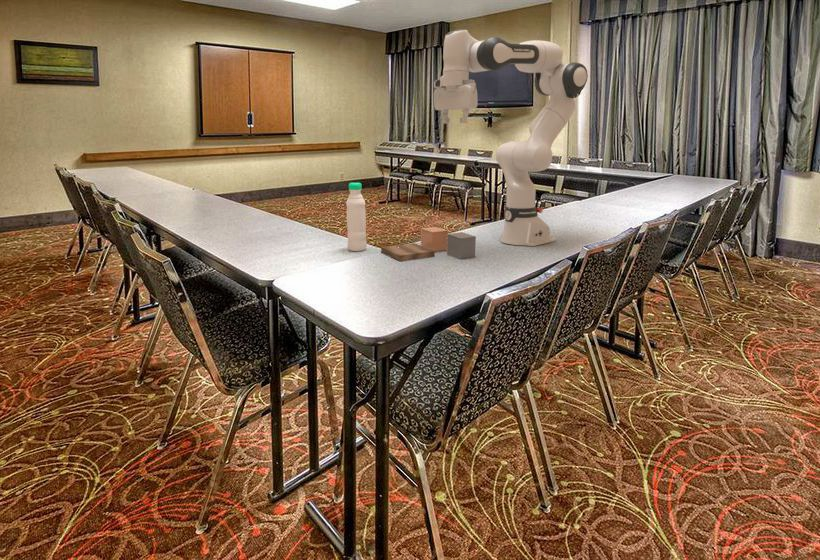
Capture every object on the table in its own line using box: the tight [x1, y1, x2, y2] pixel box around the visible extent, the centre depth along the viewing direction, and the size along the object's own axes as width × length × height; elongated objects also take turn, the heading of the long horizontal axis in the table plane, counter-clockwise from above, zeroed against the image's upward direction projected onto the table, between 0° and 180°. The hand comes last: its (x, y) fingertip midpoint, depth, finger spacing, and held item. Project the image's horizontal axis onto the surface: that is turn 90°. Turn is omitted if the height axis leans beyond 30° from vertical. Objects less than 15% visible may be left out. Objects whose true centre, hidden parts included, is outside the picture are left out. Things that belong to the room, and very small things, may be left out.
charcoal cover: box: [446, 231, 477, 260], centre depth 186 cm, size 6×9×8 cm
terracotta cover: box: [420, 226, 448, 252], centre depth 196 cm, size 6×9×8 cm
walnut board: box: [380, 242, 436, 262], centre depth 188 cm, size 14×15×2 cm
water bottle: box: [345, 182, 368, 252], centre depth 193 cm, size 7×7×25 cm
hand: (454, 123), depth 182 cm, fingers open, 8 cm apart
